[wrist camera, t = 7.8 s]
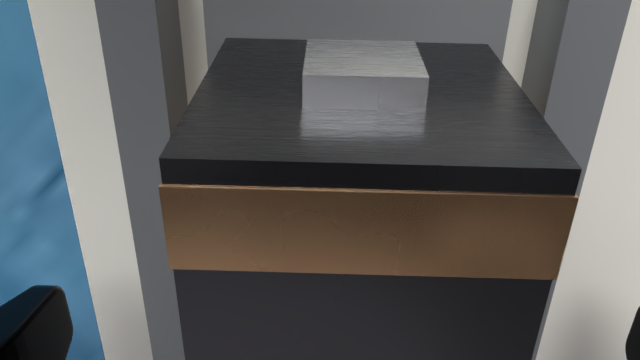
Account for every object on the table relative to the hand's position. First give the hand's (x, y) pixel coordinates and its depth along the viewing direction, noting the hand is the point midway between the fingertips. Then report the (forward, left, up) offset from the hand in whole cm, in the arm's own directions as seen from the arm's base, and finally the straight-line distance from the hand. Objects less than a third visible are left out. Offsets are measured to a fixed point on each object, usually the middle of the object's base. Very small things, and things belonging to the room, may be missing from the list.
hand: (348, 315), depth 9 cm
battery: (0, 0, -2) cm, 2 cm away
